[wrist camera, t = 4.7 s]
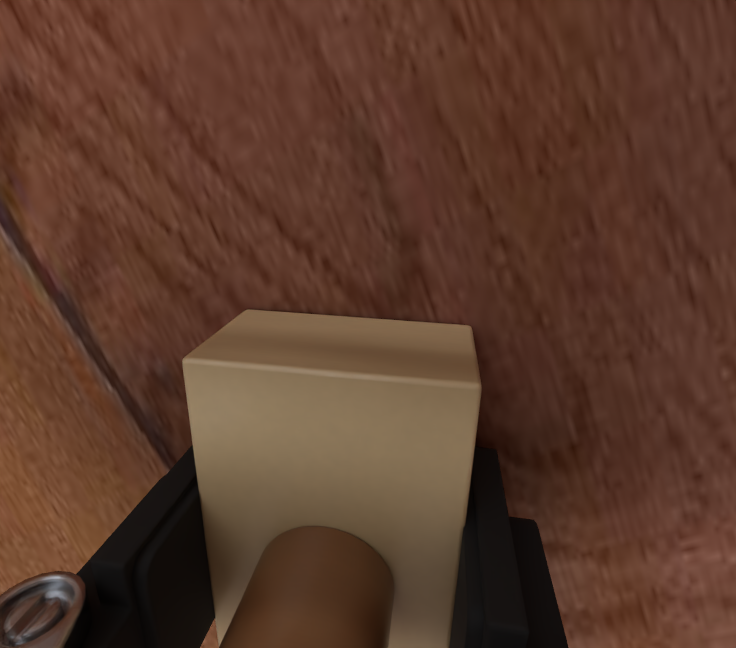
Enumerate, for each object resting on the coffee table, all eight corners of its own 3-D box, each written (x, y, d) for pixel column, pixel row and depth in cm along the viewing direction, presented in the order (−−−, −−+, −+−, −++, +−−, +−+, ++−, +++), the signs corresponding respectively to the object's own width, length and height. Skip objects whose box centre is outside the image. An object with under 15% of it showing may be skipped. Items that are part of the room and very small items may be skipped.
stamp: (245, 307, 9) (1, 492, 4) (472, 323, 9) (514, 565, 4) (266, 598, 12) (136, 923, 7) (440, 625, 11) (437, 1006, 6)
